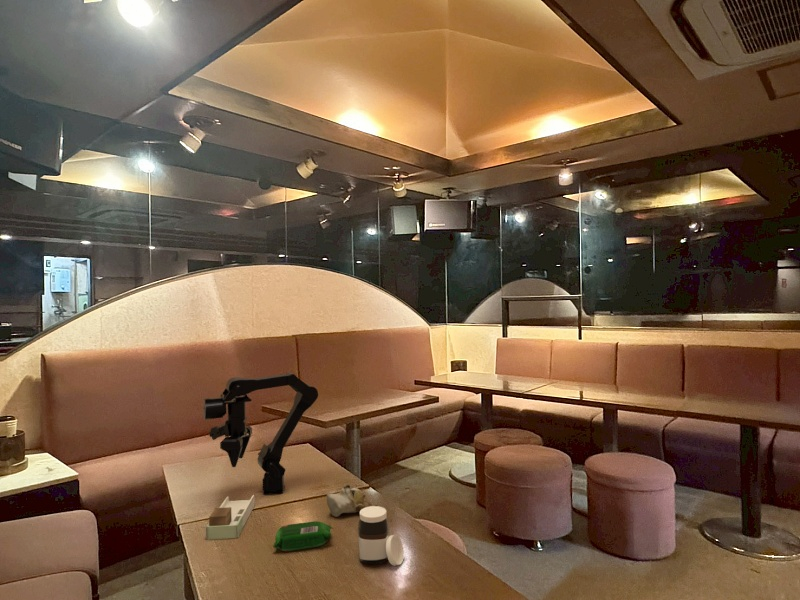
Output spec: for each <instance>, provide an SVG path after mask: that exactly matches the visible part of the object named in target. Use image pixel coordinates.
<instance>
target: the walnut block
mask: <svg viewBox="0 0 800 600" xmlns="http://www.w3.org/2000/svg"><path fill="white" fill-rule="evenodd" d="M231 521H232V519H231V507H228V508H219V507H216V508H214V510H213V511H212V512H211V513H210V515H209V516H208V523H209V526H221V525H230V523H231Z"/></svg>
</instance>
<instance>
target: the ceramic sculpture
mask: <svg viewBox="0 0 800 600" xmlns="http://www.w3.org/2000/svg"><path fill="white" fill-rule="evenodd" d="M365 498H366V494H363V492H362V491H361V489H359V488H357V487H351V486H350V484H349V485H348V484H347V485H345V486H343V487H342V488H341V489H340V491H339V492H338V493H329V492H328V493H326V505H327V508H328V509H329V512H330V514H331V516H333V517H336V518H339V517H340V516H341V514H354V513H358V512H359V513H360V510H362V509H363V508H365V507H370V506H379V505H378V504H372V503H371V502H367V501H364V499H365Z"/></svg>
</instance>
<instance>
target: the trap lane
mask: <svg viewBox="0 0 800 600" xmlns="http://www.w3.org/2000/svg"><path fill="white" fill-rule="evenodd" d="M229 496H230V495H229ZM229 496H226V498H225V499H224V500H223V502H222V503H221V504H220V506H219V507H218V508H228V507H231V519H232V521H231V523H230V525H221V526H209V522H208V523H207V524H206V526H205V540H207V541H209V540H226V539H238V538H239V537H240V534H241V532H242V530H243V529H244V527H245V525H246V522H247V521H248V520H249V517H250V515H251V514H252V511H253V509H254V508H255V494H253V495H252V496H251V497H250V499H249V500H247V499H244V500H243V499H241V500H239V499H238V500H230V497H229Z"/></svg>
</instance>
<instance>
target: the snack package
mask: <svg viewBox="0 0 800 600" xmlns="http://www.w3.org/2000/svg"><path fill="white" fill-rule="evenodd" d="M331 529H333V527H332V526H331V524H329V525H328V524H326V522H325V523H324V522H322V521H318V520H317V521H316V520H314V521H309V522H307V521H306V522H298V523H291V524H286V525H283V526H281V527H279V529H278V530H277V532H276V535H275V538H274V539H275V542H274V544H273V546H272V547H273V548H276V549H278V550H281V551H282V552H292V551H293V552H294V551H298V550H299V551H300V550H307V549H312V548H319V547H321V546H324V545H325V543H326V542H327V541H329V539H331V537H332V533H331Z"/></svg>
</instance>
